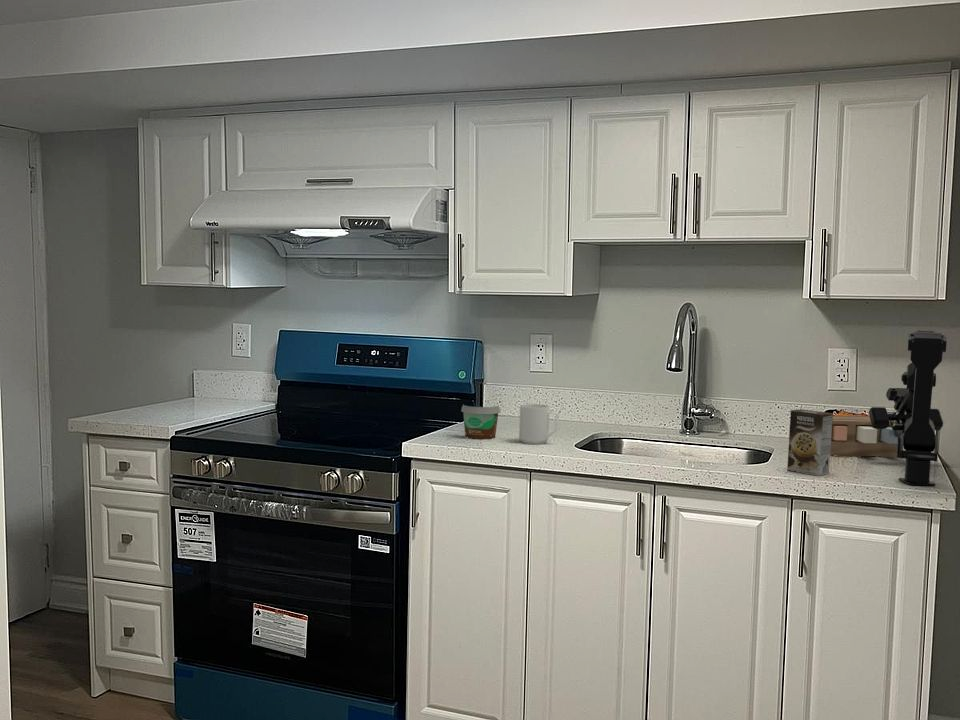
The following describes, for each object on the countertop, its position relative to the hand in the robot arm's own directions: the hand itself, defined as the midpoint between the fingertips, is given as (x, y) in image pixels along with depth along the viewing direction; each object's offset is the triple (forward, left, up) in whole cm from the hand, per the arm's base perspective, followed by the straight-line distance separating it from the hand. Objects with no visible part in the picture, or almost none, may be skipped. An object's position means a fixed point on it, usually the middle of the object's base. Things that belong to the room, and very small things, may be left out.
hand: (896, 435), depth 268 cm
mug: (+18, +100, -7) cm, 102 cm away
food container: (+24, +118, -7) cm, 121 cm away
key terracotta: (+7, +14, -2) cm, 16 cm away
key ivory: (+3, +7, -2) cm, 8 cm away
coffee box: (-20, +32, -7) cm, 39 cm away
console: (+11, +7, -7) cm, 15 cm away
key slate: (+3, 0, -2) cm, 4 cm away
